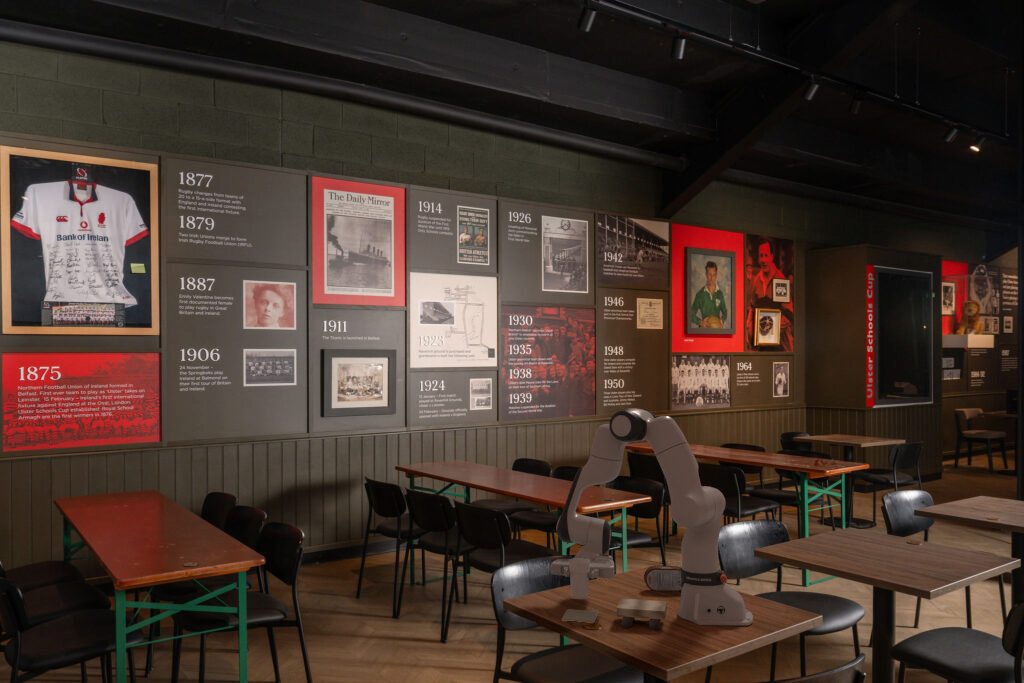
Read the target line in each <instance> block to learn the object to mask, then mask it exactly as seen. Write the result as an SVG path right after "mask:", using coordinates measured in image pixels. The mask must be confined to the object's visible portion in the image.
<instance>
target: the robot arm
mask: <svg viewBox="0 0 1024 683" xmlns="http://www.w3.org/2000/svg"><path fill="white" fill-rule="evenodd" d="M644 441H646V442H648V445H650V446H651V449H652V450H653V452H654V455H655V457H656V460H657V461H658V464H659V466H660V469H661V470H662V473H663V475H664V479H665V480H666V484H667V487H668V488H667V489H668V492H669V497H670V498H669V499H670V507H669V512H670V516H671V518H672V520H673V521H674V522H675V523H676V524H677V525H678V526H680V527H682V528H685V532H684V535H683V538H682V541H681V544H680V545H681V546H680V548H681V572H680V584H681V587H682V589H681V591H680V600H679V606H678V609H677V616H679V617H680V618H682V619H684V620H686V621H689V622H692V623H694V624H696V625H698V626H699V625H700V626H750V625H751V624H753V622H754V616H753V612H751V611H750V610H749V609H746V605H745V600H744V598H743V596H742V595H741V594H740V593H739V592H738V591H737V590H735V589H734V588H733V587H731V586H730V585H729V584H728V583H726V582H727V581H728V577H727V575H726V573H725V571H724V570H721V569H719V539H720V533H721V527H722V520H723V514H724V511H725V509H726V504H727V503H726V498H725V496H724V494H723V493H722V492H721V491H720V490H719V489H718V488H715V487H712V486H703V485H702V484H701V479H700V476H699V475H700V474H699V463H698V461H697V459H696V456H695V455H694V453H693V450H692V449H691V446H690V444H689V442H688V441H687V438H686V436H685V434H684V433H683V431H682V429H681V428H680V427H679V425H678V424H677V422H676V421H675V420H674V419H673V417H671V416H669V415H660V416H656V414H654V413H653V412H652V411H651V410H648V409H646V408H635V407H633V408H623V409H620V410H618V411H616V412H615V413H613V414H612V416H611V417H610V420H609V423H604V424H601V425H599V426H598V427H597V429H596V431H595V434H594V436H593V440H592V444H591V449H590V454H589V457H588V460H587V463H585V464H584V465H583V466H581V467H579V468H578V470H577V471H576V474H575V476H574V478H573V481H572V483H571V487H570V488H569V492H568V495H567V498H566V501H565V504H564V507H563V509H562V512H561V515H560V516H559V518H558V520H557V523H556V526H555V527H556V531H555V533H556V535H557V536H558V538H559V539H560V540H561V542H562V543H570V544H575V545H576V544H577V545H581V546H582V547H580V549H579V550H578V552H577V553H576V554H575V556H574V557H573V558H584V559H588V560H590V571H589V574H588V575H589V577H588V578H589V580H592V579H594V578H595V579H596V578H598V579H609V580H610V579H611V580H612V579H614V578H615V562H614V560H613V559H614V558H613V555H609V554H607V552H609V550H610V547H611V544H612V537H613V536H612V535H613V533H612V532H613V531H612V527H611V525H610V524H609V522H608V521H607V520H606V519H604V518H603V519H602V518H597V517H594V516H593V517H591V516H587V515H583V514H579V513H577V508H578V504H579V502H580V499H581V496H582V493H583V491H584V490H585V489H586V488H588V487H592V486H597V485H604V484H607V483H609V482H613V481H614V480H615V479H616V478H618V477H619V475H620V473H621V469H622V467H623V461H624V452H625V449H626V447H627V445H628V444H629V443H639V442H644ZM570 559H571V558H570ZM570 559H569V558H557V559H555V560H554V561H552V562H551V564H550V573H551V575H553V576H554V575H555V576H565V578H570V571H569V560H570Z"/></svg>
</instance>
